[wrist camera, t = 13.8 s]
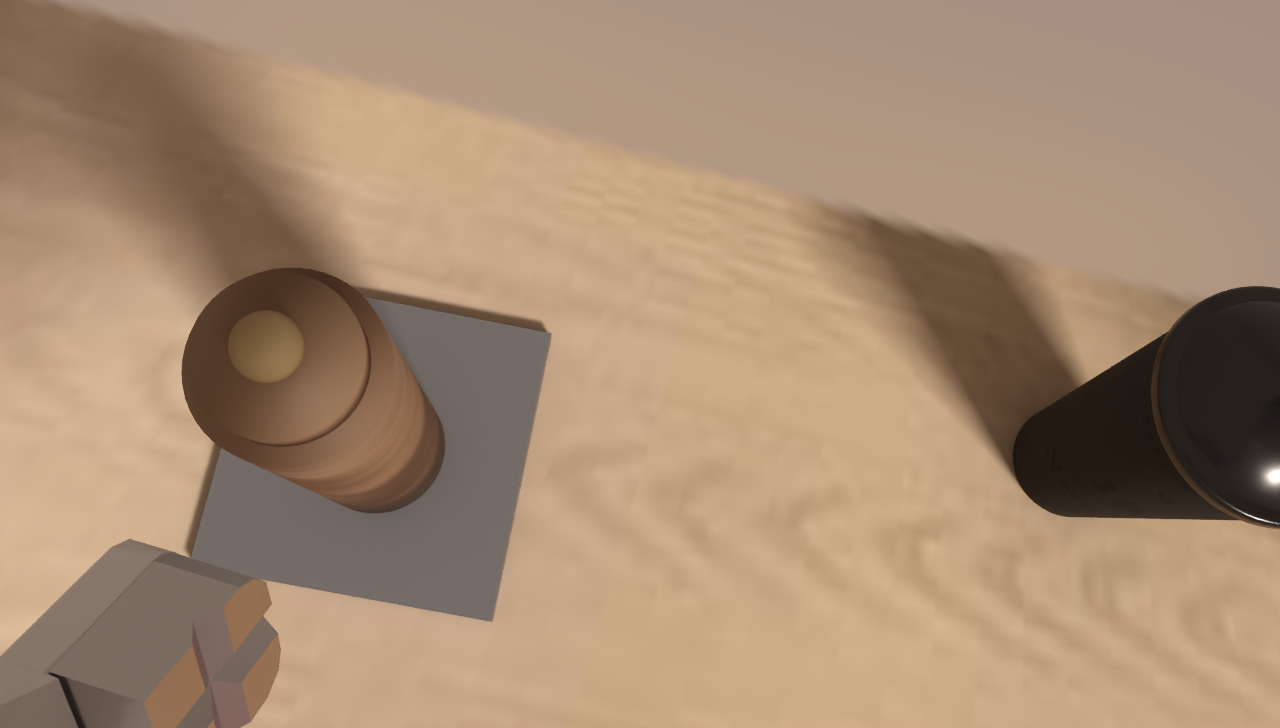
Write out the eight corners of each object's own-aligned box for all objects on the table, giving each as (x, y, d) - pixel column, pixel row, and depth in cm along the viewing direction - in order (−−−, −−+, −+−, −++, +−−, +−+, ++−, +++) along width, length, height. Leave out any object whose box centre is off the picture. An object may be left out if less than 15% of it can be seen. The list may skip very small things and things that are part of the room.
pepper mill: (457, 394, 43) (394, 253, 26) (429, 524, 42) (342, 469, 24) (327, 370, 43) (174, 212, 25) (295, 500, 41) (110, 427, 24)
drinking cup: (1015, 347, 46) (1350, 164, 27) (1171, 420, 46) (1622, 291, 27) (955, 502, 45) (1268, 426, 25) (1117, 580, 44) (1559, 564, 25)
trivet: (551, 337, 45) (551, 333, 44) (492, 620, 42) (491, 621, 41) (273, 283, 44) (268, 277, 43) (195, 566, 41) (188, 566, 41)
